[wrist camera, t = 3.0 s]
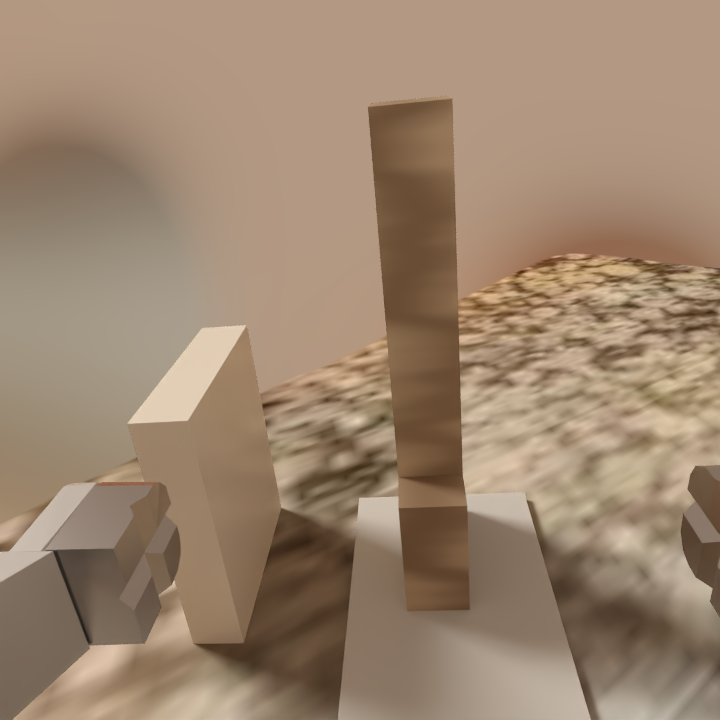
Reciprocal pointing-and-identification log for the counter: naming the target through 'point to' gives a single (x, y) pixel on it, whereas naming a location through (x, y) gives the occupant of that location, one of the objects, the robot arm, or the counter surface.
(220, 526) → the slab tile
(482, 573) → the rest mat
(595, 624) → the counter surface
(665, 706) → the counter surface
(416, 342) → the stacked wooden blocks
